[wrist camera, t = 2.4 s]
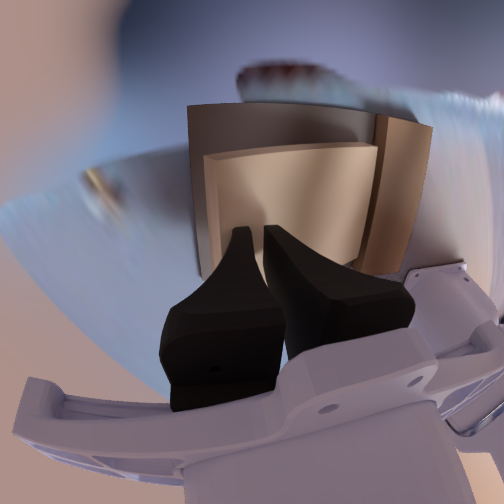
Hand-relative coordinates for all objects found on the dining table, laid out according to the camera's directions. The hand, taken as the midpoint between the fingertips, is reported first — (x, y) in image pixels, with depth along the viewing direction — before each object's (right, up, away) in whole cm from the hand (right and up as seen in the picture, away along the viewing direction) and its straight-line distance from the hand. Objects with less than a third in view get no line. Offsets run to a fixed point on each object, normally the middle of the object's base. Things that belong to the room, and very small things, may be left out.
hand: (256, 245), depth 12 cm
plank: (+2, +2, +3) cm, 4 cm away
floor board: (+4, +3, +5) cm, 7 cm away
